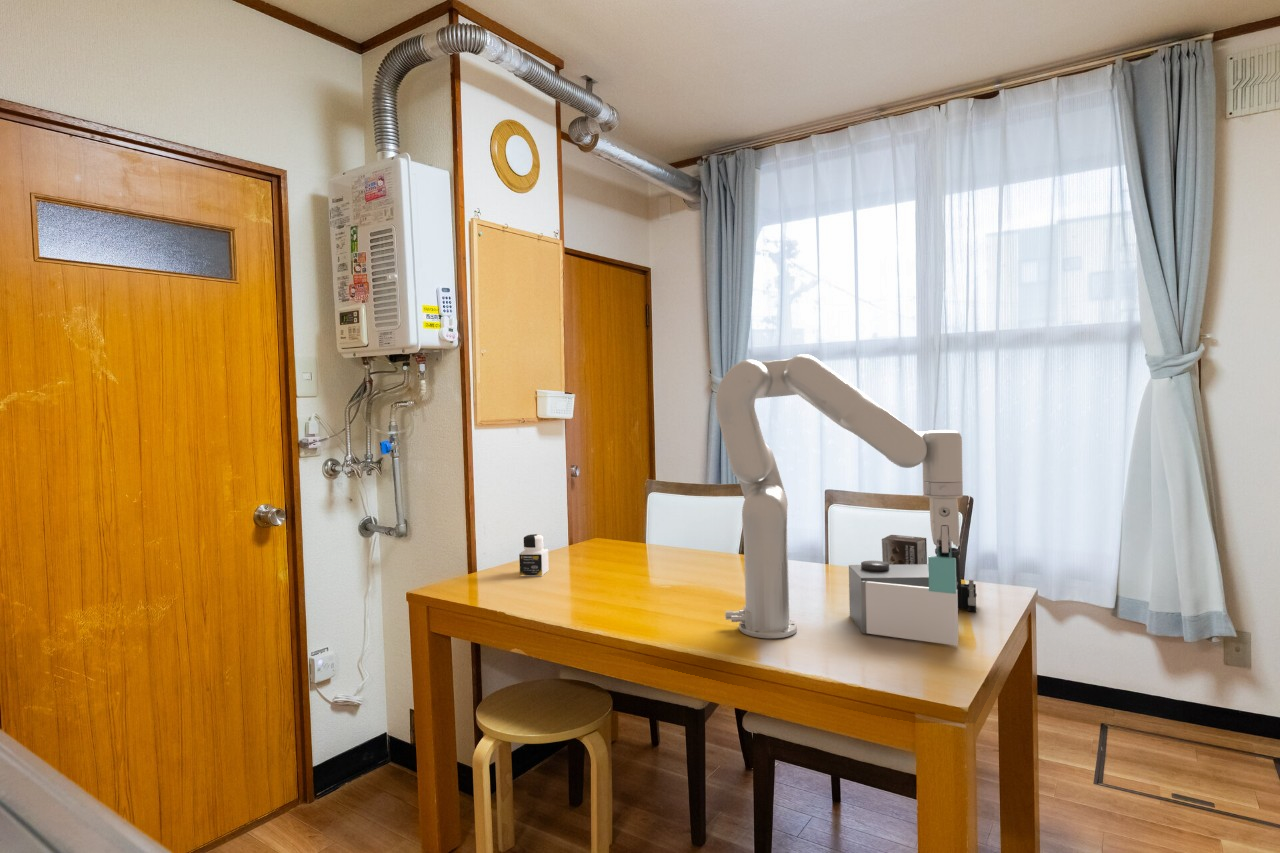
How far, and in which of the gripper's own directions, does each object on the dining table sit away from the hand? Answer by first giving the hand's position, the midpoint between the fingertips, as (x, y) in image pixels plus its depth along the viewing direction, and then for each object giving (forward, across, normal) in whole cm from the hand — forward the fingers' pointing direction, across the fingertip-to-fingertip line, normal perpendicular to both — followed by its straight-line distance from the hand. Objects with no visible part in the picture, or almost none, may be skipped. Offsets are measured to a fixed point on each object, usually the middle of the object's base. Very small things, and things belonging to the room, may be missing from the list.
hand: (944, 576), depth 140 cm
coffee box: (+13, +25, +8) cm, 30 cm away
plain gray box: (+13, +7, +9) cm, 17 cm away
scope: (+13, +24, -3) cm, 28 cm away
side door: (+12, -3, +7) cm, 15 cm away
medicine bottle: (+13, +28, +114) cm, 118 cm away
